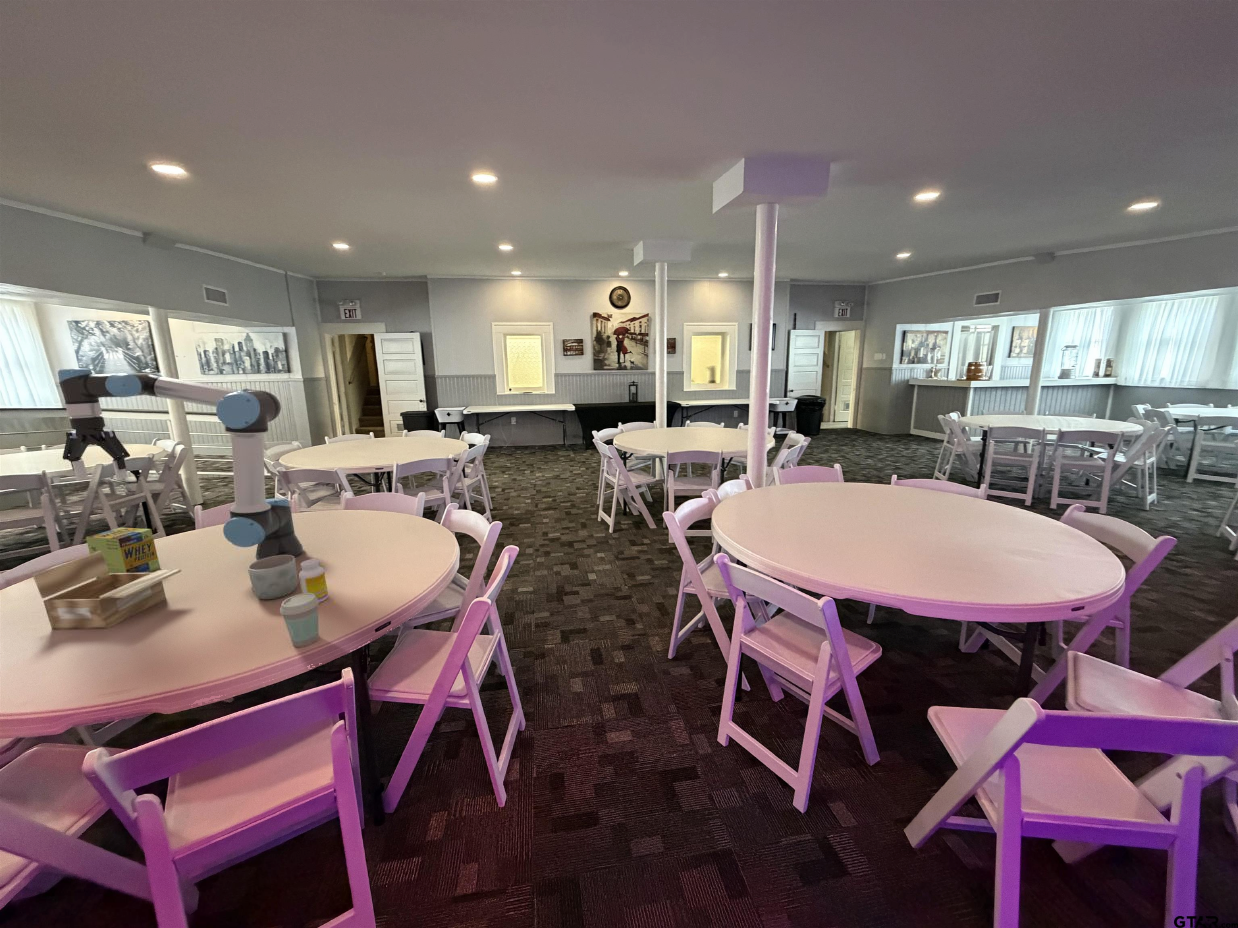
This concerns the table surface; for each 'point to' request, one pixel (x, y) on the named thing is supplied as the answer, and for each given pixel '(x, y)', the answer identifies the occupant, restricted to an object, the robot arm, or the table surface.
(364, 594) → the table surface
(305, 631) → the coffee cup
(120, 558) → the protein box
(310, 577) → the supplement bottle
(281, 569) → the planter
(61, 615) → the light wood open box
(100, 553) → the open flap
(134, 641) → the table surface
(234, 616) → the table surface
